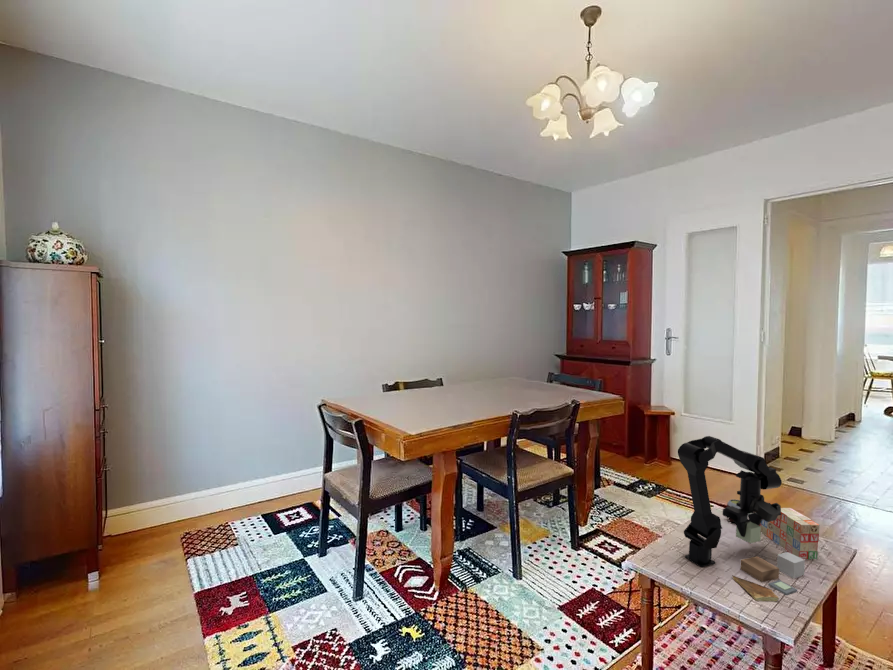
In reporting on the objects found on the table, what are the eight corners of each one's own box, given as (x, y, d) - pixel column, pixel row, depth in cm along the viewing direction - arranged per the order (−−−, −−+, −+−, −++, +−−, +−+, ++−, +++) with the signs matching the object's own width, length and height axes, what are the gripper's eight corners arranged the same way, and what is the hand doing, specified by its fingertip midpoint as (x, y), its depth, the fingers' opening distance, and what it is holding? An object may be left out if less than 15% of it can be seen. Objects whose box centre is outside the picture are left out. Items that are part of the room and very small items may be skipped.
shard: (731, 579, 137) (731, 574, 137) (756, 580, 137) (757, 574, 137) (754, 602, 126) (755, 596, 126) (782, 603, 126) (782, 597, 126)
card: (786, 595, 129) (786, 592, 129) (768, 585, 133) (768, 582, 133) (797, 591, 131) (797, 588, 130) (779, 581, 135) (779, 578, 135)
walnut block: (761, 583, 135) (762, 572, 135) (740, 570, 142) (740, 559, 141) (778, 579, 137) (779, 568, 137) (756, 566, 144) (757, 556, 143)
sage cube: (750, 543, 148) (751, 529, 148) (735, 536, 153) (736, 522, 153) (760, 540, 150) (761, 526, 150) (745, 533, 155) (746, 520, 155)
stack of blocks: (754, 528, 169) (756, 496, 168) (771, 528, 169) (772, 496, 168) (799, 560, 147) (801, 524, 147) (818, 560, 147) (820, 524, 147)
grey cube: (793, 578, 137) (794, 563, 137) (776, 570, 142) (777, 554, 141) (804, 575, 139) (804, 559, 138) (786, 566, 143) (787, 551, 143)
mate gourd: (721, 518, 177) (723, 481, 176) (740, 517, 177) (741, 480, 176) (735, 527, 169) (737, 488, 168) (754, 526, 170) (756, 488, 169)
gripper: (755, 504, 140) (753, 552, 141) (793, 495, 147) (791, 541, 147) (722, 490, 150) (720, 535, 151) (759, 483, 157) (757, 526, 158)
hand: (748, 535), depth 152 cm, fingers closed on sage cube, 5 cm apart
